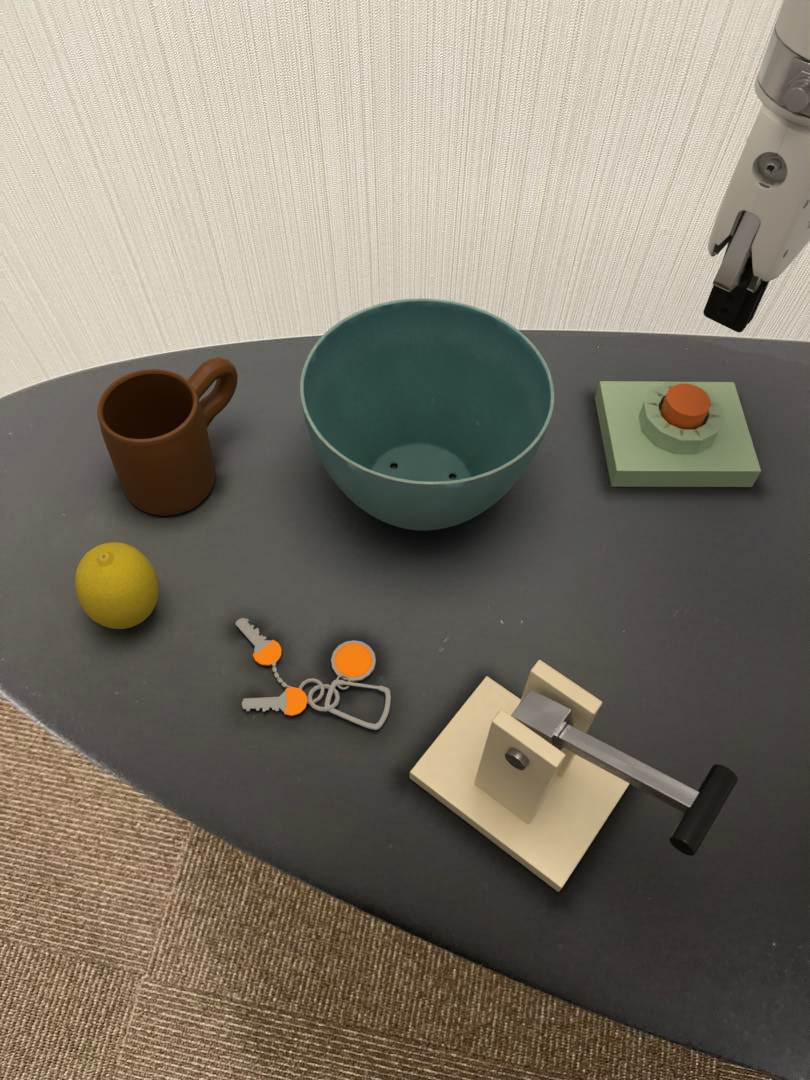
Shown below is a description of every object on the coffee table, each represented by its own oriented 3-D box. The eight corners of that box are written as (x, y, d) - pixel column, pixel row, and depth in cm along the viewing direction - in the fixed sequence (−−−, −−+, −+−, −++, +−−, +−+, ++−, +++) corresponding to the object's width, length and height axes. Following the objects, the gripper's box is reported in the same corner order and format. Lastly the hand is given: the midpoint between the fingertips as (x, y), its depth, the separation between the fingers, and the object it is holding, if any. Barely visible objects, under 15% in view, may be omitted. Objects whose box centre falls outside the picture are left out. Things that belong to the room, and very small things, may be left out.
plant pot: (289, 425, 78) (278, 317, 68) (489, 388, 82) (506, 280, 71) (336, 602, 69) (331, 507, 59) (561, 553, 72) (592, 455, 62)
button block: (726, 398, 82) (741, 367, 79) (752, 487, 76) (769, 457, 73) (594, 398, 81) (603, 366, 78) (610, 486, 76) (621, 456, 73)
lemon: (95, 585, 69) (65, 525, 62) (169, 579, 69) (147, 519, 63) (89, 650, 66) (57, 594, 59) (166, 644, 66) (143, 588, 60)
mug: (214, 404, 80) (197, 322, 72) (275, 450, 77) (264, 370, 69) (104, 483, 74) (73, 405, 66) (165, 536, 72) (140, 461, 64)
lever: (736, 790, 49) (739, 767, 48) (694, 864, 47) (695, 843, 45) (547, 694, 56) (543, 671, 54) (501, 755, 54) (496, 733, 52)
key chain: (405, 654, 66) (406, 649, 66) (379, 746, 62) (379, 742, 62) (240, 613, 68) (239, 608, 67) (204, 701, 64) (202, 696, 63)
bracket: (629, 783, 62) (678, 715, 52) (558, 892, 58) (597, 840, 48) (484, 682, 66) (505, 600, 56) (408, 778, 61) (416, 707, 52)
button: (699, 397, 77) (705, 383, 76) (708, 430, 75) (715, 415, 74) (657, 397, 77) (663, 382, 75) (665, 429, 75) (671, 415, 73)
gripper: (841, 154, 47) (726, 400, 62) (939, 42, 54) (815, 288, 69) (710, 102, 49) (631, 351, 64) (820, 1, 56) (725, 247, 71)
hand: (726, 318), depth 67 cm, fingers closed
